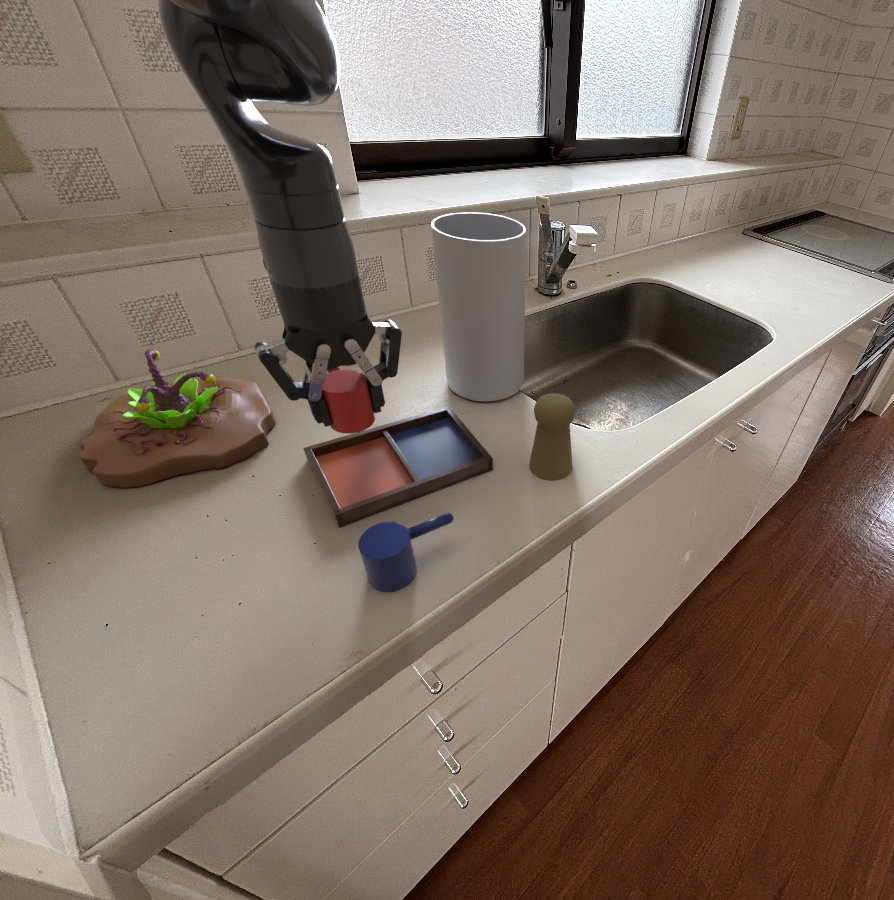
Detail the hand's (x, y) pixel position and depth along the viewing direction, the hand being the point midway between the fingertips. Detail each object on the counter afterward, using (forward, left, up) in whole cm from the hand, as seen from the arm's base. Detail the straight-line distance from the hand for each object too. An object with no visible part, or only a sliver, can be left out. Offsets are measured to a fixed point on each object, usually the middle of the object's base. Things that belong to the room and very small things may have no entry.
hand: (351, 415), depth 57 cm
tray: (+4, 0, -10) cm, 11 cm away
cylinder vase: (+23, +13, -10) cm, 29 cm away
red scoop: (0, +2, -1) cm, 3 cm away
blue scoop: (0, -16, -10) cm, 19 cm away
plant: (-17, +20, -10) cm, 28 cm away
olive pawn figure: (+21, -10, -10) cm, 26 cm away
